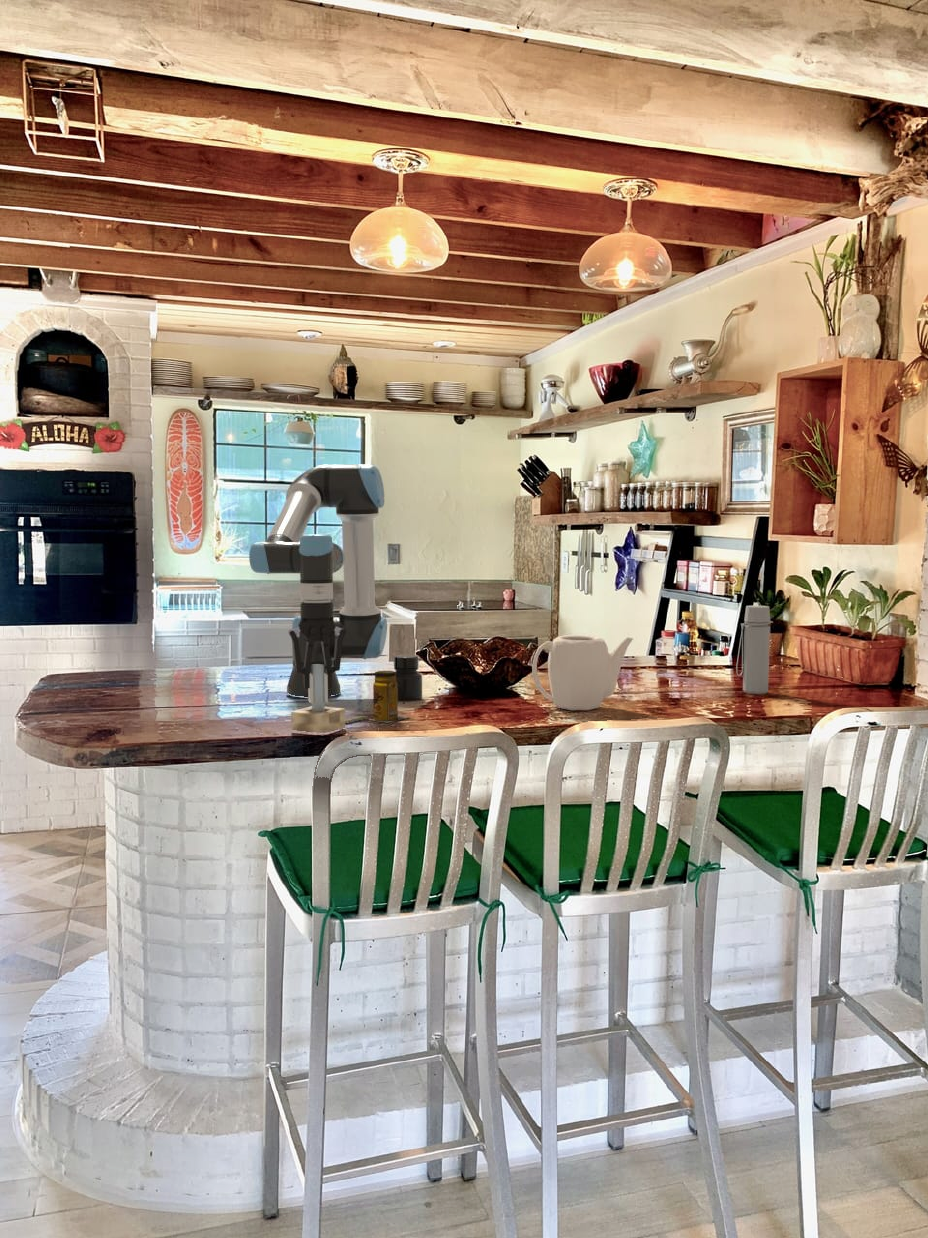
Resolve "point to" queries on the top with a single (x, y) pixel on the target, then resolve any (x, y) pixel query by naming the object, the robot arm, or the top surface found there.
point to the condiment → (385, 697)
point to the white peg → (318, 688)
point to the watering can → (580, 671)
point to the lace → (355, 719)
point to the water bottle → (755, 649)
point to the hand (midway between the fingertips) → (318, 701)
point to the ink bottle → (408, 677)
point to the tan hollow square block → (318, 720)
